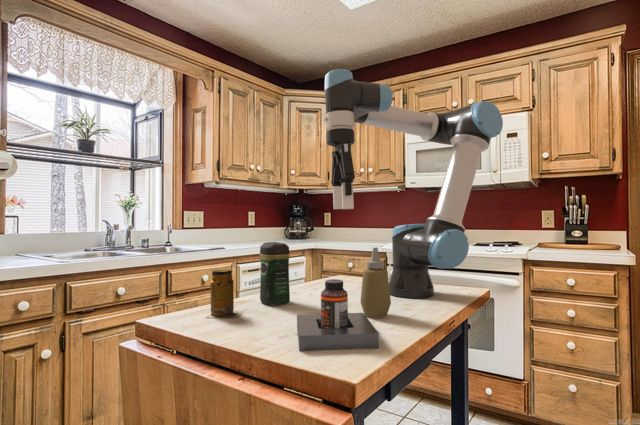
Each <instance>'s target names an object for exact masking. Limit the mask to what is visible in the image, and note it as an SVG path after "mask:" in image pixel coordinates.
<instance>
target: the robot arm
mask: <svg viewBox="0 0 640 425" xmlns="http://www.w3.org/2000/svg"><path fill="white" fill-rule="evenodd" d="M323 90H324V97H325V98H324V101H325V102H324V103H325V117H323V121H324V122H326V124H325V125H326V126H325V127H326V128H325V129H326V130H327V131H326V133H325V135H326V145H327V146H330V147H334V151H332V153H331V155H332V156H331V159H332V162H331V182H330V184H331V185H332V197H333V198H332V199H333V200H332V203H333V204H332V205H333V210H354V208H355V207H354V205H355V203H354V180H355V178H356V175H355V169H354V162H353V156H352V155H353V154H352V146H353V145H354V144H355V142H356V140H355V139H356V138H355V131H354V128H355V124H362V125H365V126H370V127H375V128H380V129H385V130H389V131H394V132H398V133H403V134H408V135H412V136H417V137H418V136H419V137H420V138H421V140H423V141H427V142H431V143H436V144H441V145H448V146H450V145H451V146H453V148H452V150H451V155H450V158H449V162H448V164H447V168H446V171H445V175H444V178H443V181H442V185H441V187H440V188H441V189H440V191H439V195H438V198H437V201H436V205H435V208H434V211H433V214H432V215H431V216H429V217H427V219H426V221H425V223H411V224H401V225H395V227H394V228H393V229H392V235H391V240H392V271H391V275H390V278H389V290H390V296H393V297H398V298H406V299H423V298H424V299H425V298H430V297H433V296H434V295H435V287H434V284H433V281H432V278H431V274H430V272H429V267H433V268H437V269H454V268H457V267H458V266H460V265H461V264H462V263H463V262H464V261H465V260H466V258H467V256H468V253H469V248H470V245H469V242H468V237H467V235H466V234H465V231H466V228H465V226H464V225H463V219H464V215H465V212H466V209H467V205H468V202H469V201H468V200H469V198H470V194H471V191H472V187H473V184H474V180H475V177H476V173H477V170H478V167H479V166H478V165H479V162H480V159H481V156H482V153H483V152H485V151H487V150H488V149H489V146H490V142H491V140H492V139H493V138H496V137H497V136H499V135H500V134H501V132H502V130H503V124H504V123H503V122H504V121H503V120H504V119H503V117H502V114H501V111H500V109H499V107H498V106H496V105H495V103H493V102H492V101H490V100H489V101H488V100H480V101H478V102H477V101H475V102H473V103H471V104H469V105H465V106H462V107H460V108H457V109H454V110H451V111H447V112H441V113H438V112H437V113H436V112H432V111H430V112H427V113H423V112H419V111H415V110H411V109H407V108H402V107H399V106H398V107H397V106H394V105H392V104H393V99H394V96H393V90H392V88H391V87H390V86H389V85H388V84H382V83H379V82H377V83H375V82H366V81H357V80H354V77H353V72H351V70H348V69H346V68H345V69H343V68H336V69H332V70H329V71H328V72H326V74H325V76H324V89H323Z"/></svg>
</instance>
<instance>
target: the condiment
mask: <svg viewBox="0 0 640 425" xmlns="http://www.w3.org/2000/svg"><path fill="white" fill-rule="evenodd" d="M232 273H233V271H232V270H231V269H229V268H228V269H227V268H226V269H225V268H223V269H221V268H220V269H214V270H212V271H211V278H212V279H211V280H210V313H209V314H207V316H206V318H213V319H214V318H217V319H219V318H239V317H240V316H241V315H242V314H243V313H244V310H237V309H236V310H235V309H234V308H235V307H234V302H235V300H234V287H235V286H234V279H233V274H232Z"/></svg>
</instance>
